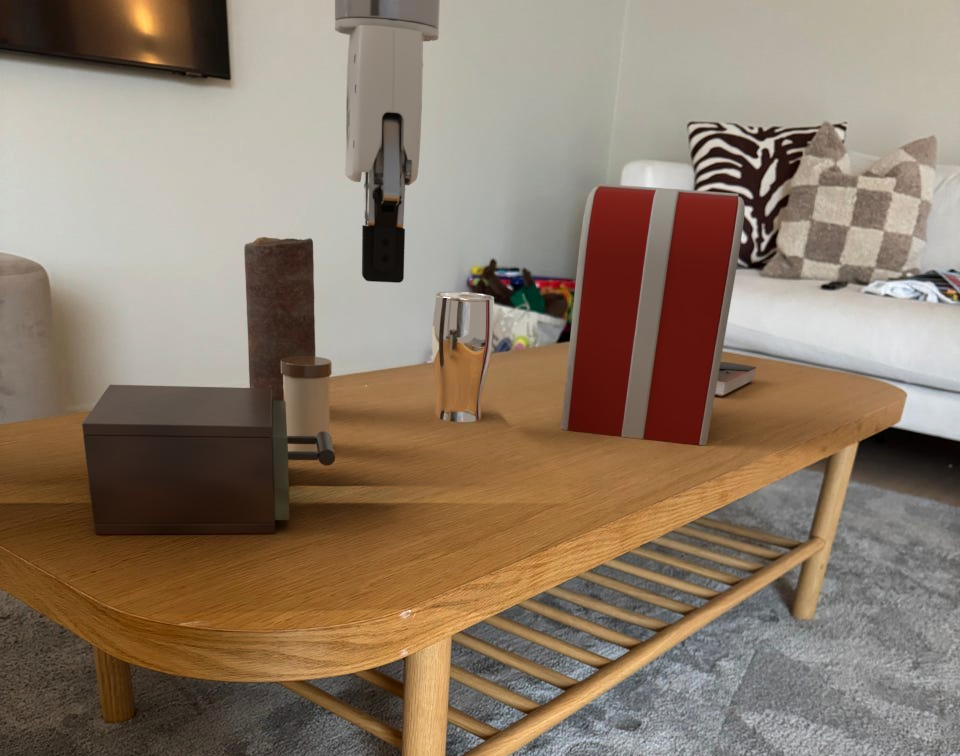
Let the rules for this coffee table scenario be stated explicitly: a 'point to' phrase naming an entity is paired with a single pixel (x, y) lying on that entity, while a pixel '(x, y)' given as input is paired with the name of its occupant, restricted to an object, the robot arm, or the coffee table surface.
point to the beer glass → (461, 353)
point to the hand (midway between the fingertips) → (382, 280)
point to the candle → (278, 307)
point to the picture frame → (733, 377)
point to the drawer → (292, 456)
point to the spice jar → (306, 397)
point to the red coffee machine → (651, 311)
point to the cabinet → (181, 460)
